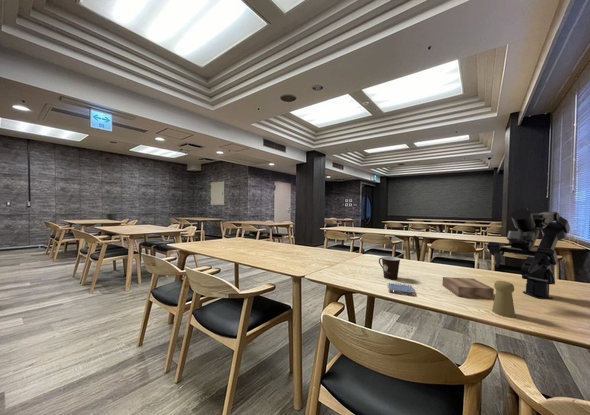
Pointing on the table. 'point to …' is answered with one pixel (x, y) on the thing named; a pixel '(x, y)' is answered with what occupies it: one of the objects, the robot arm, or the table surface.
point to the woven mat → (401, 289)
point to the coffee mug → (390, 267)
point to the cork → (503, 299)
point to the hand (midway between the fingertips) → (512, 269)
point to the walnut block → (468, 287)
